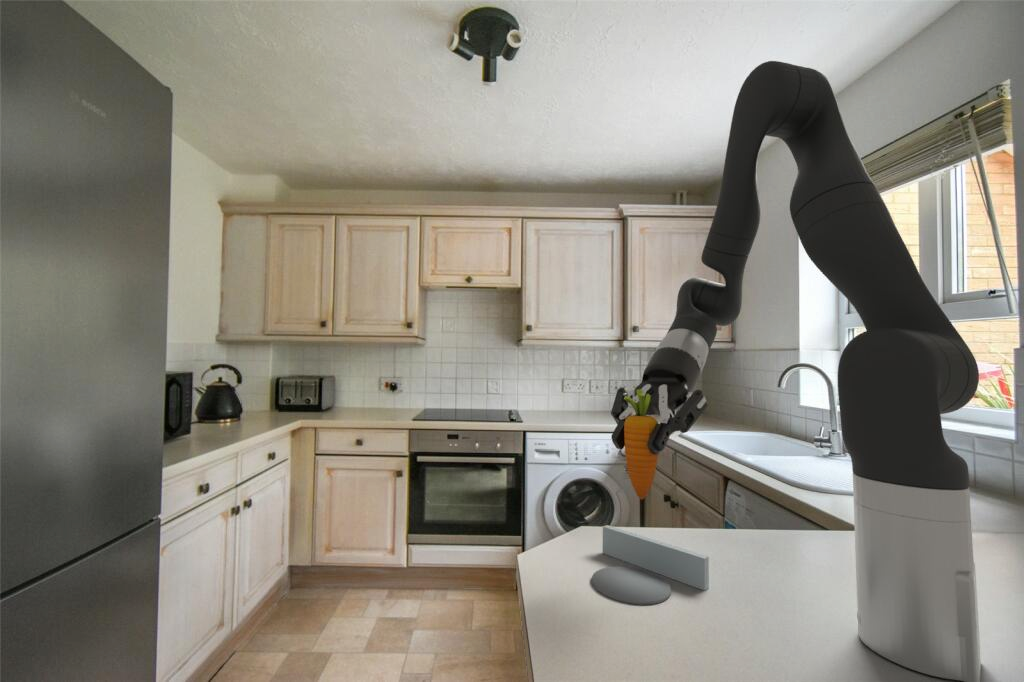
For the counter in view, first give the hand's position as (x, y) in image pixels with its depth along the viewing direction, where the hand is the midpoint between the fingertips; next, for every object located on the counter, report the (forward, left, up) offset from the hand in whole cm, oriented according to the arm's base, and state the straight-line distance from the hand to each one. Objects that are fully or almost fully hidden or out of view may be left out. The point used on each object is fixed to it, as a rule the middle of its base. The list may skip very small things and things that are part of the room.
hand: (634, 447), depth 60 cm
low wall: (+1, -6, -18) cm, 19 cm away
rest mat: (0, +1, -18) cm, 18 cm away
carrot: (0, -2, -7) cm, 8 cm away
